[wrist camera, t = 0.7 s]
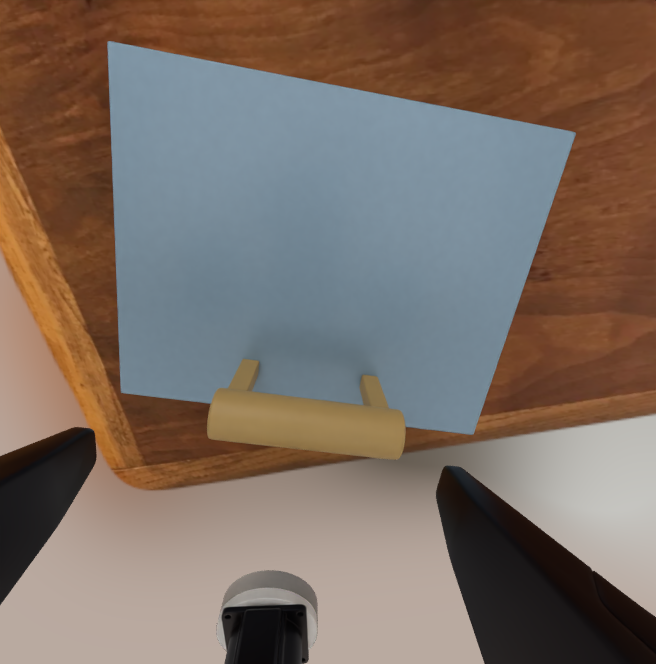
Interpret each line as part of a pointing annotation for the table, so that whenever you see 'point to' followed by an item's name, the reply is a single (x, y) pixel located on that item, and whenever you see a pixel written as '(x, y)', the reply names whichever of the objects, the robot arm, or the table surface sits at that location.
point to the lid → (316, 250)
